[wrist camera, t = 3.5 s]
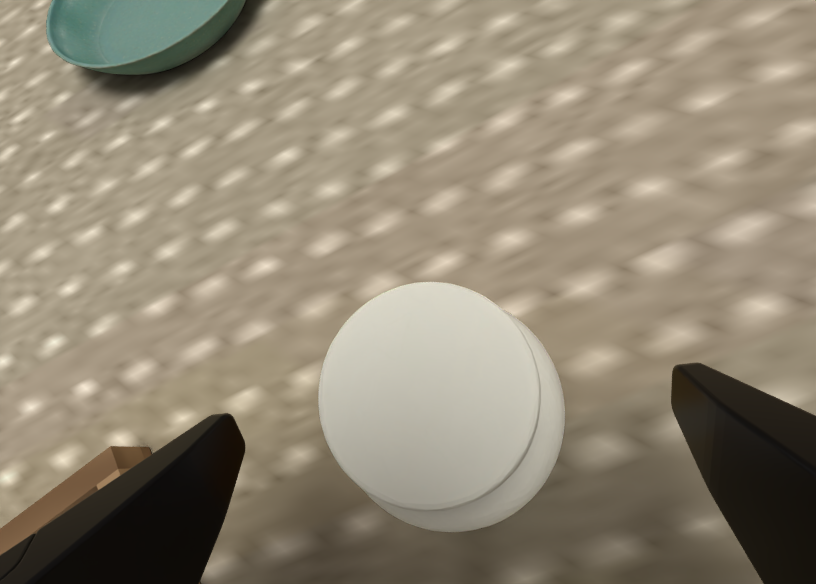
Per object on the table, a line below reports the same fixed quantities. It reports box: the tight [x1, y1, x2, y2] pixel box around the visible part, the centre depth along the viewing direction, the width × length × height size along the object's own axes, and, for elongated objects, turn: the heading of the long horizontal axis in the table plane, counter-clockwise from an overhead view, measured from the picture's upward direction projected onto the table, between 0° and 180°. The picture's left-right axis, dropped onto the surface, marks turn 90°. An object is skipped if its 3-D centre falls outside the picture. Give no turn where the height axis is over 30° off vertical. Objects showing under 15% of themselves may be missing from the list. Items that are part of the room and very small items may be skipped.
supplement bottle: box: [318, 282, 565, 532], centre depth 12 cm, size 5×5×10 cm
